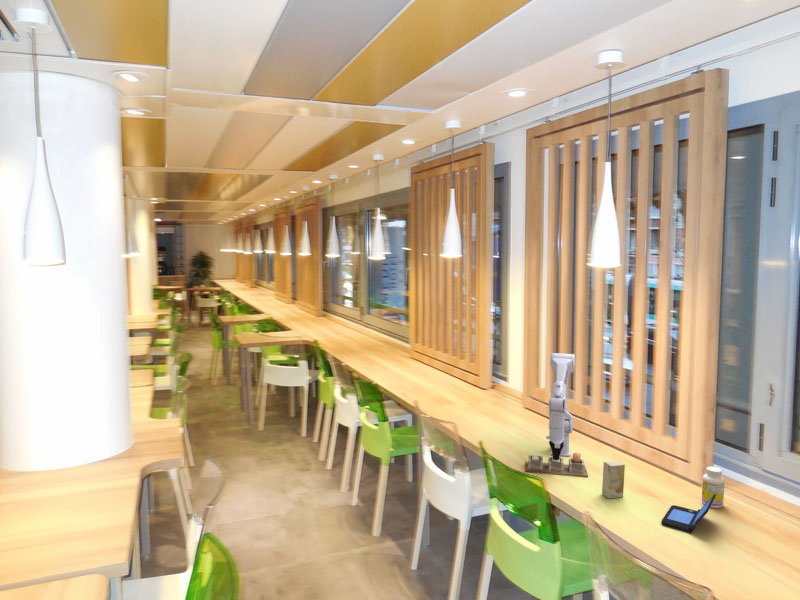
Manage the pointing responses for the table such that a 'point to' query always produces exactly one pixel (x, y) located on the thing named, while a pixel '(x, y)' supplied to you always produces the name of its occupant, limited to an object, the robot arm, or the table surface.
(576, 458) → the terracotta plug
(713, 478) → the supplement bottle
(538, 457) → the plug
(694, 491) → the table surface
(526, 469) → the board
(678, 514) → the handheld game console
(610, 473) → the skincare box
